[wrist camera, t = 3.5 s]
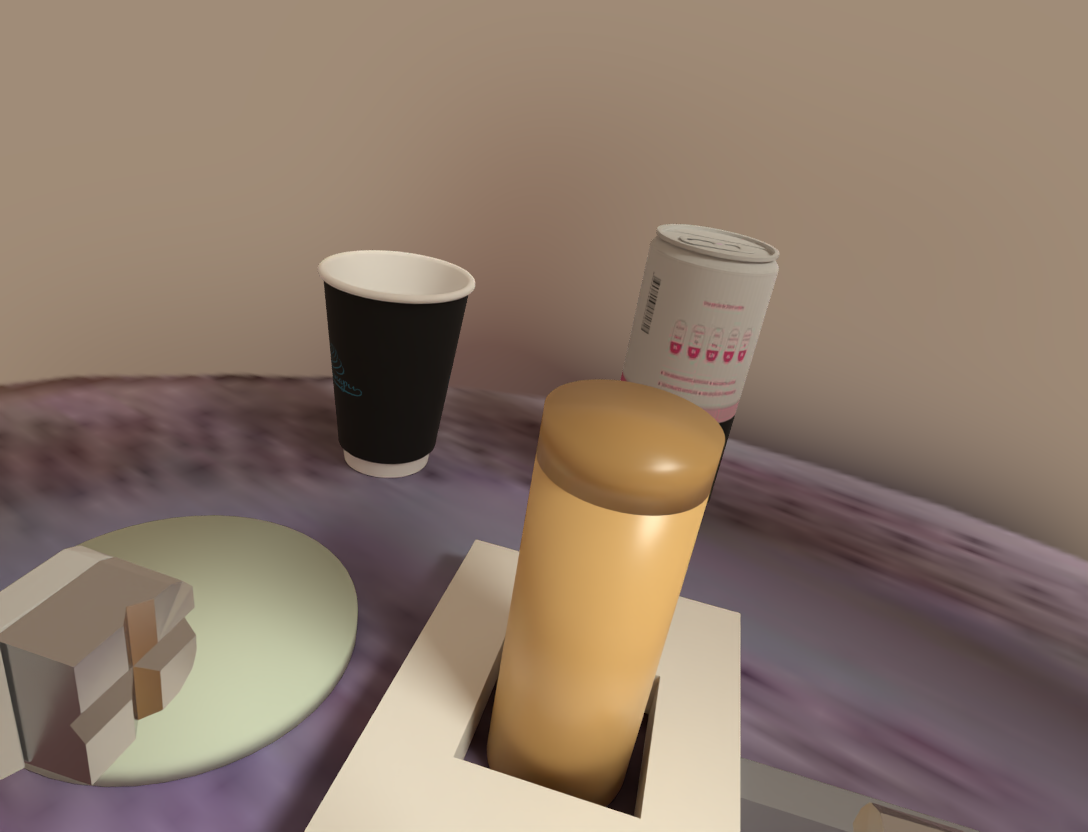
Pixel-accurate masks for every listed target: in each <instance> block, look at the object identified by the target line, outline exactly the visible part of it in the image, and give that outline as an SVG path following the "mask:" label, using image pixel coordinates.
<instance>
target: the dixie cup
mask: <svg viewBox="0 0 1088 832" xmlns="http://www.w3.org/2000/svg"><path fill="white" fill-rule="evenodd" d="M318 274H319V276H320V277H321V278H322V279H323V280H324V288H325V299H326V309H327V320H328V330H329V340H330V351H331V362H332V373H333V384H334V394H335V405H336V415H337V426H338V436H339V442H340V445H341V446H342V448H343V449H344V458H345V461H346V462H347V464H348V465H349V466H350V467H352V468H353V469H355V470H356V471H358V472H361V473H363V474H366V475H370V476H374V477H382V478H396V477H403V476H408V475H411V474H414V473H416V472H418V471H420V470H421V469H422V468H424V466H425V465H426V464H427V461H428V457H429V453H430V452H431V451H432V450H433V448H434V446H435V442H436V438H437V433H438V429H439V424H440V420H441V415H442V411H443V406H444V402H445V397H446V393H447V388H448V384H449V379H450V375H451V370H452V366H453V361H454V357H455V352H456V348H457V343H458V339H459V334H460V330H461V325H462V320H463V316H464V312H465V307H466V303H467V298H468V295H469V294H470V293H471V292H472V291H473V290H474V288H475V280H474V278H473V277H472V275H471V274H470V273H468V272H467V271H466V270H464V269H462V268H461V267H459V266H457V265H454V264H452V263H449V262H446V261H443V260H440V259H436V258H432V257H428V256H423V255H418V254H411V253H405V252H396V251H381V250H380V251H379V250H363V251H351V252H344V253H339V254H335V255H332V256H329V257H327V258H325V259H324V260H323V261H321V262H320V264H319V266H318Z"/></svg>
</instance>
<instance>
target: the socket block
mask: <svg viewBox="0 0 1088 832" xmlns="http://www.w3.org/2000/svg"><path fill="white" fill-rule="evenodd" d="M518 557H519V551H516V550H512V549H508V548H505V547H501V546H498V545H494V544H491V543H487V542H483V541H480V540H475V542H474V544H473V545H472V547H471V549H470V550H469V552H468V554H467V555H466V557H465V559H464V561H463V562H462V564H461V566H460V567H459V569H458V571H457V572H456V574H455V576H454V578H453V579H452V581H451V583H450V584H449V586H448V588H447V589H446V591H445V593H444V595H443V596H442V598H441V600H440V601H439V603H438V605H437V607H436V608H435V610H434V612H433V613H432V615H431V617H430V618H429V620H428V622H427V624H426V625H425V627H424V629H423V630H422V632H421V634H420V635H419V637H418V639H417V641H416V642H415V644H414V646H413V647H412V649H411V651H410V652H409V654H408V656H407V658H406V659H405V661H404V663H403V664H402V666H401V668H400V670H399V671H398V673H397V675H396V676H395V678H394V680H393V681H392V683H391V685H390V687H389V688H388V690H387V692H386V693H385V695H384V697H383V698H382V700H381V702H380V704H379V705H378V707H377V709H376V710H375V712H374V714H373V715H372V717H371V719H370V721H369V722H368V724H367V726H366V727H365V729H364V731H363V732H362V734H361V736H360V738H359V739H358V741H357V743H356V744H355V746H354V748H353V750H352V751H351V753H350V755H349V756H348V758H347V760H346V761H345V763H344V765H343V767H342V768H341V770H340V772H339V773H338V775H337V777H336V778H335V780H334V782H333V784H332V785H331V787H330V789H329V790H328V792H327V794H326V795H325V797H324V799H323V801H322V802H321V804H320V806H319V807H318V809H317V811H316V813H315V814H314V816H313V818H312V819H311V821H310V823H309V824H308V826H307V828H306V830H305V831H304V832H854V830H853V822H854V820H855V818H856V816H857V815H858V813H859V811H860V809H861V808H862V807H864V806H865V805H866V804H868V803H869V802H872V803H875V804H879V805H882V806H885V807H888V808H891V809H895V810H898V811H901V812H904V813H908V814H911V815H914V816H917V817H920V818H924V819H927V820H930V821H933V822H936V823H940V824H943V825H946V826H949V827H953V828H956V829H959V830H962V831H964V832H980V831H977V830H974V829H970V828H967V827H964V826H961V825H958V824H954V823H951V822H948V821H945V820H941V819H938V818H935V817H932V816H928V815H925V814H922V813H919V812H916V811H912V810H909V809H906V808H903V807H899V806H896V805H893V804H890V803H887V802H883V801H880V800H877V799H874V798H870V797H867V796H864V795H861V794H857V793H854V792H851V791H848V790H845V789H841V788H838V787H835V786H832V785H828V784H825V783H822V782H819V781H816V780H812V779H809V778H806V777H803V776H799V775H796V774H793V773H790V772H787V771H783V770H780V769H777V768H774V767H770V766H767V765H764V764H761V763H757V762H754V761H751V760H748V759H745V758H741V757H740V613H737V612H733V611H730V610H726V609H723V608H719V607H716V606H712V605H708V604H705V603H701V602H698V601H694V600H691V599H687V598H683V597H680V596H679V598H678V601H677V604H676V608H675V611H674V615H673V618H672V621H671V625H670V628H669V631H668V635H667V638H666V641H665V645H664V648H663V651H662V655H661V658H660V661H659V665H658V668H657V671H656V675H655V678H654V681H653V685H652V688H651V691H650V695H649V698H648V702H647V705H646V708H645V712H644V713H647V714H649V716H648V723H647V729H646V736H645V743H644V750H643V757H642V763H641V770H640V777H639V784H638V791H637V797H636V804H635V811H634V816H631V815H628V814H625V813H622V812H619V811H615V810H612V809H609V808H606V807H603V806H600V805H597V804H594V803H591V802H588V801H585V800H582V799H579V798H576V797H573V796H570V795H567V794H564V793H561V792H558V791H555V790H552V789H549V788H546V787H543V786H540V785H537V784H534V783H531V782H527V781H524V780H521V779H518V778H515V777H512V776H509V775H506V774H503V773H500V772H497V771H494V770H491V769H488V768H485V767H482V766H479V765H476V764H473V763H470V762H467V761H464V757H465V755H466V753H467V750H468V748H469V745H470V743H471V740H472V738H473V736H474V733H475V731H476V728H477V726H478V724H479V721H480V719H481V716H482V714H483V711H484V709H485V707H486V704H487V702H488V699H489V697H490V694H491V692H492V690H493V687H494V685H495V682H496V680H497V678H498V675H499V670H500V664H501V658H502V652H503V646H504V640H505V634H506V628H507V622H508V617H509V611H510V605H511V599H512V593H513V587H514V581H515V575H516V569H517V563H518Z"/></svg>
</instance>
